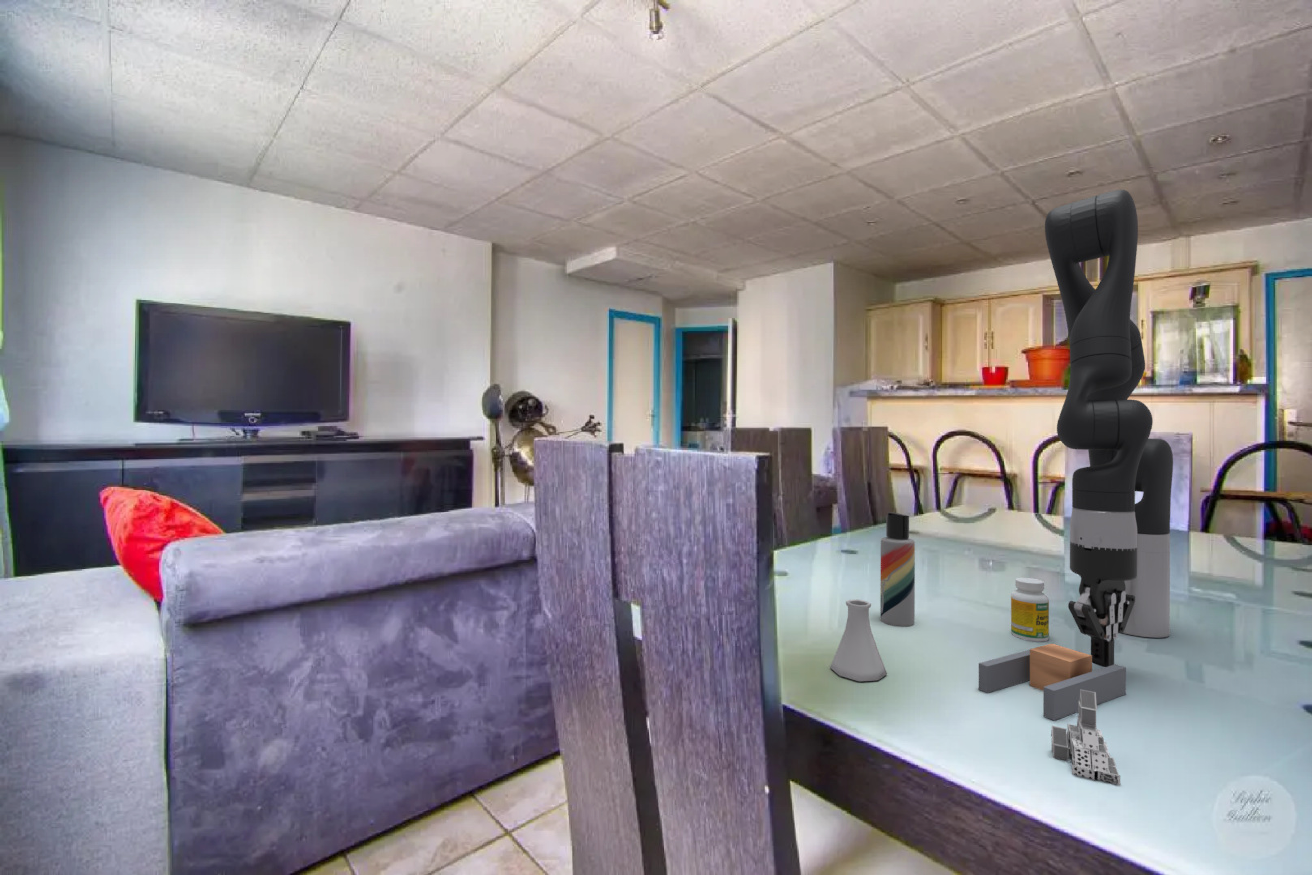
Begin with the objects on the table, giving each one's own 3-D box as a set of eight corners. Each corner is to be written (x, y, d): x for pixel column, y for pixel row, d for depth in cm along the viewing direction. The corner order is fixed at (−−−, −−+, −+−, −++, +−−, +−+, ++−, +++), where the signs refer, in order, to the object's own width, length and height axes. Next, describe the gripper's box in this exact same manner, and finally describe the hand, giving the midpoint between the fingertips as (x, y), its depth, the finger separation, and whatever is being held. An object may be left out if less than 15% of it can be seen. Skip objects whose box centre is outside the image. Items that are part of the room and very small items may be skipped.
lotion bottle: (874, 618, 107) (875, 510, 107) (904, 618, 107) (904, 510, 107) (889, 628, 101) (890, 514, 101) (920, 628, 102) (921, 514, 102)
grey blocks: (1049, 668, 84) (1049, 644, 84) (1125, 694, 75) (1125, 667, 75) (978, 689, 77) (978, 663, 77) (1054, 720, 68) (1054, 690, 68)
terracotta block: (1051, 679, 80) (1051, 643, 80) (1091, 693, 76) (1092, 655, 76) (1029, 686, 78) (1029, 649, 78) (1070, 701, 74) (1070, 661, 74)
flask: (859, 687, 77) (859, 612, 77) (820, 668, 84) (820, 599, 84) (896, 677, 81) (897, 605, 81) (856, 659, 87) (857, 593, 87)
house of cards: (1011, 726, 67) (1011, 661, 67) (1104, 747, 63) (1105, 676, 63) (1013, 764, 60) (1014, 690, 60) (1121, 790, 55) (1121, 710, 55)
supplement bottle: (1020, 630, 101) (1020, 575, 101) (1054, 639, 96) (1055, 581, 96) (1004, 635, 98) (1004, 579, 98) (1039, 645, 93) (1039, 585, 93)
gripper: (1098, 534, 88) (1097, 648, 88) (1046, 540, 82) (1046, 663, 82) (1158, 542, 81) (1158, 666, 81) (1107, 550, 75) (1107, 683, 75)
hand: (1102, 664), depth 81 cm, fingers closed
